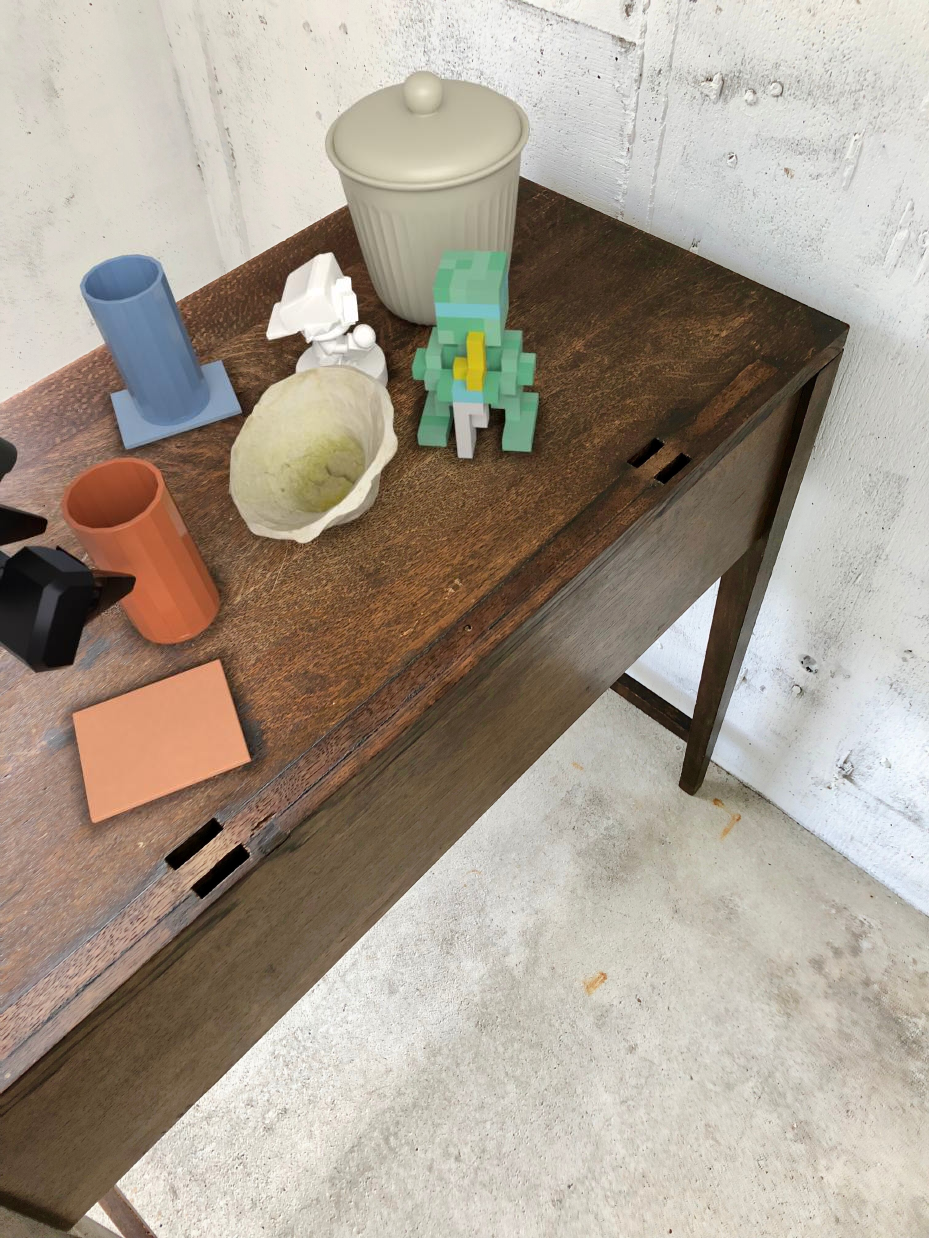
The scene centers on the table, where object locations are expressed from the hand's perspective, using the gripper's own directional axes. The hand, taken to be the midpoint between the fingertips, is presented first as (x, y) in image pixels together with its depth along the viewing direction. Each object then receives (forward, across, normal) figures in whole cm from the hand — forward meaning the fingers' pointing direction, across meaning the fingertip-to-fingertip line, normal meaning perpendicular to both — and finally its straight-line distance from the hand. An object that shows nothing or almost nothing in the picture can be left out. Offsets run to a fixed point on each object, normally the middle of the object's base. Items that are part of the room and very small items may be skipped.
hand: (88, 553), depth 59 cm
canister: (+41, +6, -26) cm, 49 cm away
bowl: (+20, -3, -5) cm, 21 cm away
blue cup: (+21, +18, -7) cm, 29 cm away
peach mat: (+4, -8, +11) cm, 14 cm away
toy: (+32, -8, -16) cm, 36 cm away
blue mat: (+22, +18, -7) cm, 29 cm away
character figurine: (+29, +7, -14) cm, 33 cm away
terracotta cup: (+10, 0, +5) cm, 11 cm away
